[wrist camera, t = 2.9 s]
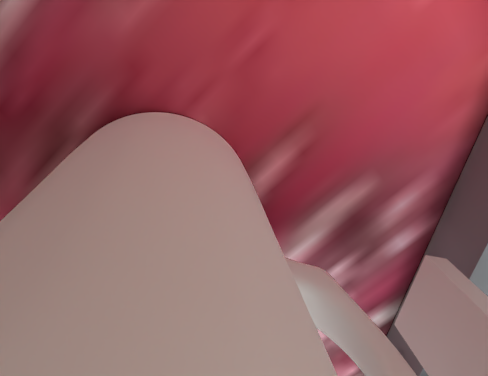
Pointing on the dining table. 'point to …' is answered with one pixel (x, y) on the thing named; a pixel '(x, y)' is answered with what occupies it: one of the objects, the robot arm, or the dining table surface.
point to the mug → (166, 269)
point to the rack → (459, 234)
